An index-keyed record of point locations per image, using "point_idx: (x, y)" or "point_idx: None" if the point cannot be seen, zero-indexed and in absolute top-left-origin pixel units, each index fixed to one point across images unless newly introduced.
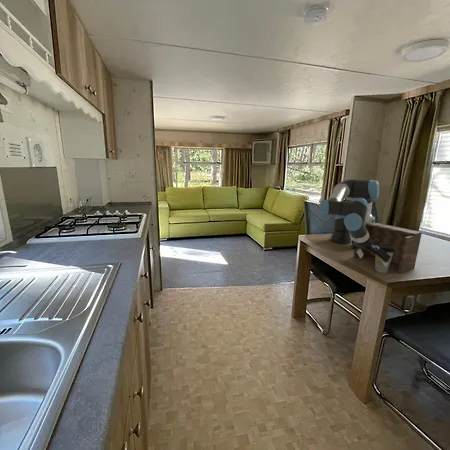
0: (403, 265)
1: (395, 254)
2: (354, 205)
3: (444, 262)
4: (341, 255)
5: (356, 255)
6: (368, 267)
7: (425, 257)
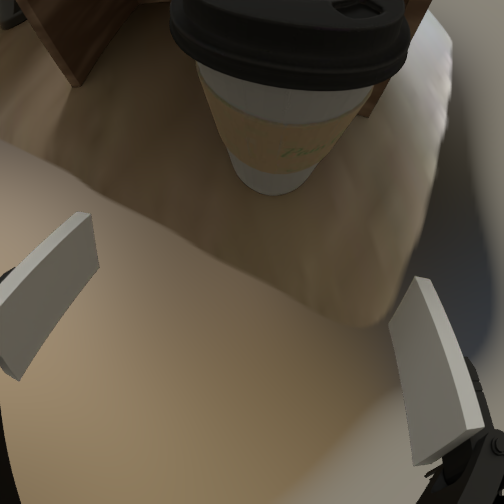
0: None
1: None
2: None
3: None
4: (20, 117)
5: (81, 67)
6: (181, 158)
7: None
